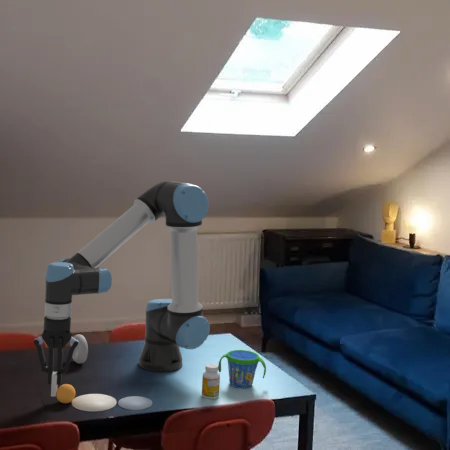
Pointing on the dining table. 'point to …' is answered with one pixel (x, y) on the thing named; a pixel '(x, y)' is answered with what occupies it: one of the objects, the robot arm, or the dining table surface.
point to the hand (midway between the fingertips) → (54, 394)
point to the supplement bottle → (211, 382)
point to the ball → (65, 393)
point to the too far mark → (135, 403)
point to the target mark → (94, 402)
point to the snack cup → (242, 367)
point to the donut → (80, 349)
